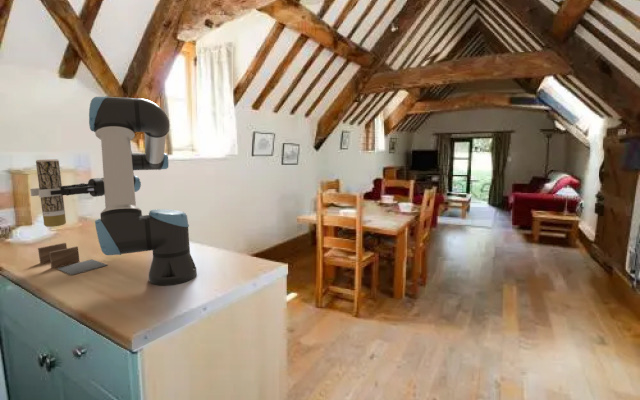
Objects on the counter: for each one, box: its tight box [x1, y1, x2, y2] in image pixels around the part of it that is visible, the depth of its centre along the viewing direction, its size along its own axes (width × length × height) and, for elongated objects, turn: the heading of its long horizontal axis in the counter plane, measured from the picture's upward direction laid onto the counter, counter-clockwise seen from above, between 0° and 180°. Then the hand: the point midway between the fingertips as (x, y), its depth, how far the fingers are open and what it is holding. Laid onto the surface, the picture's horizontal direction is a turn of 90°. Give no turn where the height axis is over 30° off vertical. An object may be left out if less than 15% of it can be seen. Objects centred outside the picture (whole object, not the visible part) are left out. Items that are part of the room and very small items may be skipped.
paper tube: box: [35, 158, 67, 228], centre depth 133 cm, size 7×7×25 cm
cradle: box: [37, 242, 81, 269], centre depth 136 cm, size 11×9×6 cm
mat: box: [56, 259, 108, 276], centre depth 131 cm, size 12×12×1 cm
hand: (35, 193), depth 128 cm, fingers closed on paper tube, 7 cm apart
